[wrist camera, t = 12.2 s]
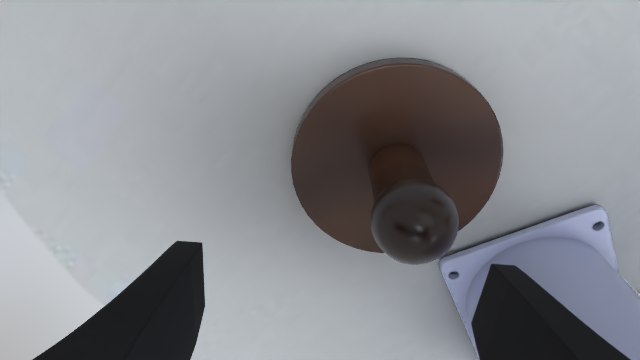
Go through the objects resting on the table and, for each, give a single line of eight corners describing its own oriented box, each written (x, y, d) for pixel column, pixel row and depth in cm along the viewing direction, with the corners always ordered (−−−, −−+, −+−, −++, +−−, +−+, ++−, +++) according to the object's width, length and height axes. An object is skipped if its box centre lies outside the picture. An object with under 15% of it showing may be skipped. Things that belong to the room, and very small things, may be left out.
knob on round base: (517, 201, 21) (590, 298, 15) (341, 265, 23) (348, 373, 17) (462, 18, 17) (532, 56, 11) (256, 112, 19) (228, 186, 13)
